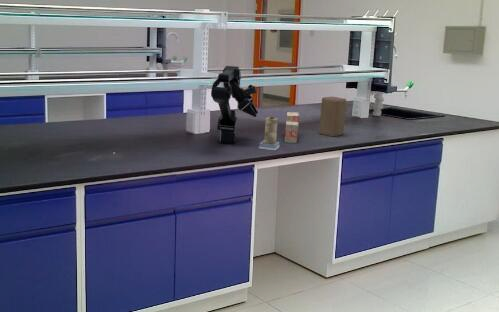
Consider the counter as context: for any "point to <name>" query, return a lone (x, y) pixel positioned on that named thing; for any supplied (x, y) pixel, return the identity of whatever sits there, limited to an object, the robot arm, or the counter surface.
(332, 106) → the block
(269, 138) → the maple pillar block
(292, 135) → the stack of blocks
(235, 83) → the robot arm
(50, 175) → the counter surface
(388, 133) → the counter surface
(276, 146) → the blue square tray
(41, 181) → the counter surface
